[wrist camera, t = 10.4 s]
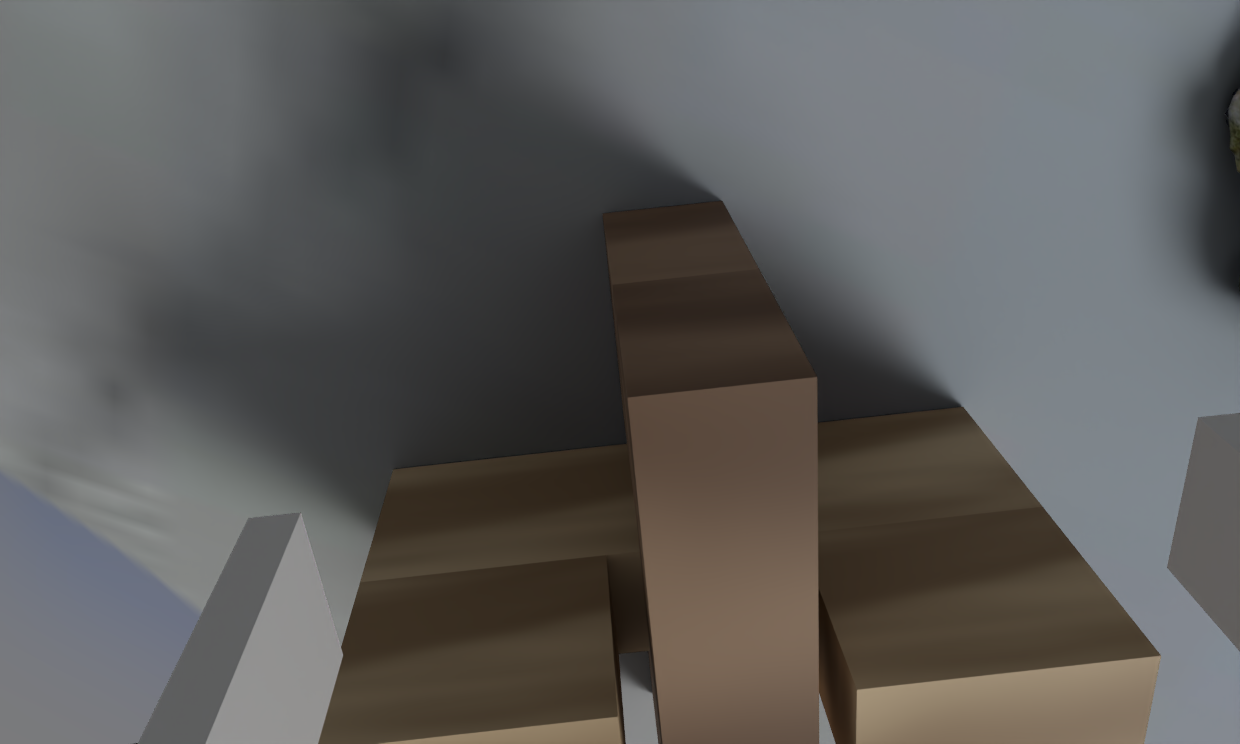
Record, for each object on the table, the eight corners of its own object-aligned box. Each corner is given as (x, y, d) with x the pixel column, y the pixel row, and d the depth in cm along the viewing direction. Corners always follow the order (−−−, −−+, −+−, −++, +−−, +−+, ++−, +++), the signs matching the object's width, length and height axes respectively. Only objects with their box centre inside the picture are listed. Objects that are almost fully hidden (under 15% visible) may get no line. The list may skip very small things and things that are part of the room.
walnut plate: (602, 213, 24) (627, 397, 15) (722, 200, 24) (817, 377, 15) (652, 694, 31) (690, 1014, 22) (745, 684, 31) (820, 1000, 22)
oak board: (393, 469, 27) (310, 751, 18) (962, 406, 27) (1160, 655, 18) (413, 556, 28) (346, 859, 19) (956, 496, 29) (1138, 770, 20)
